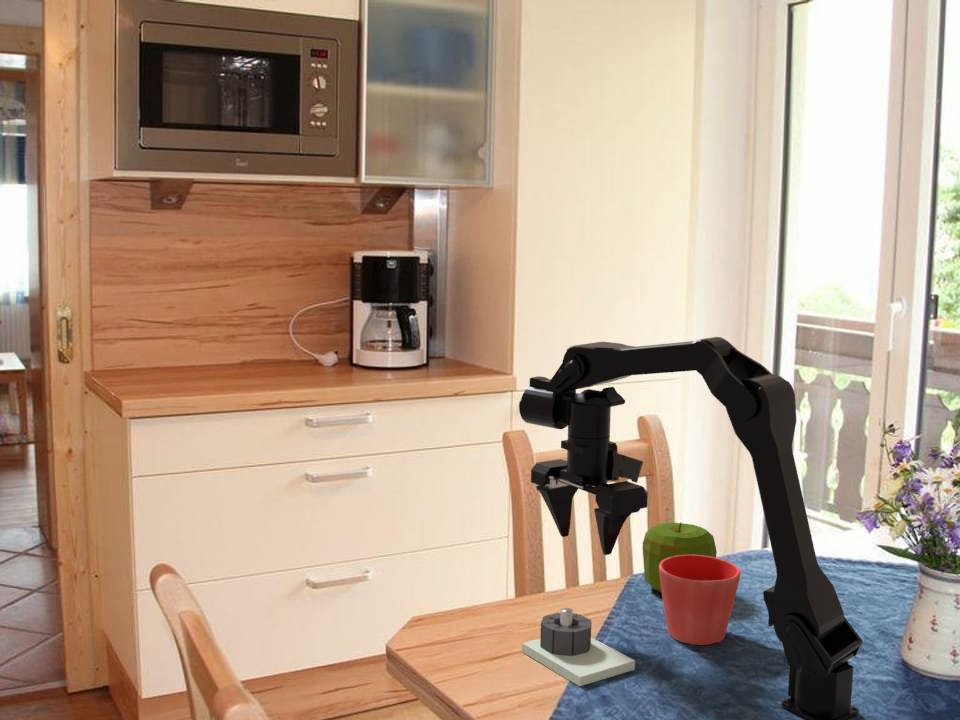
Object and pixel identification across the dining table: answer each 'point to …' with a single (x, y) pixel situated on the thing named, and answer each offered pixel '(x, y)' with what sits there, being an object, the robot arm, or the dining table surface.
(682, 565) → the flower pot
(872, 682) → the dining table surface
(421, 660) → the dining table surface
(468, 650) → the dining table surface
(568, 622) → the grey metallic cylinder
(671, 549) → the apple
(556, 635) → the grey octagonal ring
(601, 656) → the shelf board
